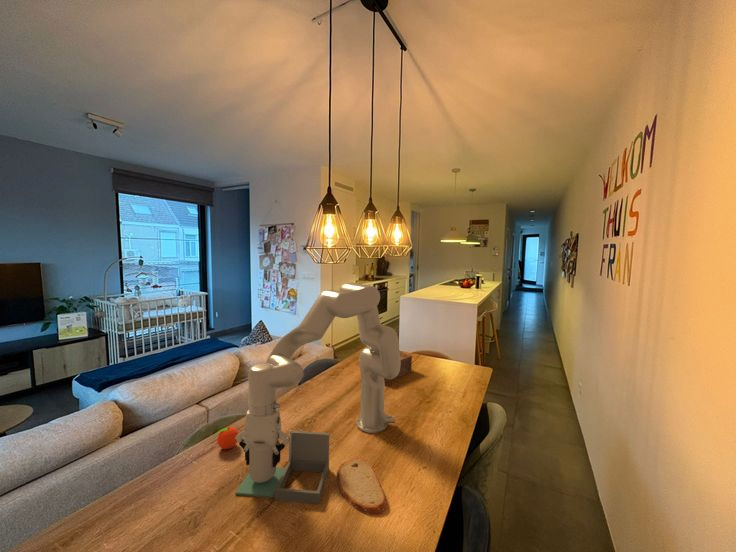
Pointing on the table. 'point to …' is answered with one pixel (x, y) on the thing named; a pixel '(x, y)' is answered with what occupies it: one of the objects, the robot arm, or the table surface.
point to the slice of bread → (361, 487)
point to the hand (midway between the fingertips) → (262, 462)
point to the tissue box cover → (403, 365)
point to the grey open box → (305, 465)
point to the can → (261, 462)
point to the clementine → (227, 437)
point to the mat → (260, 485)
